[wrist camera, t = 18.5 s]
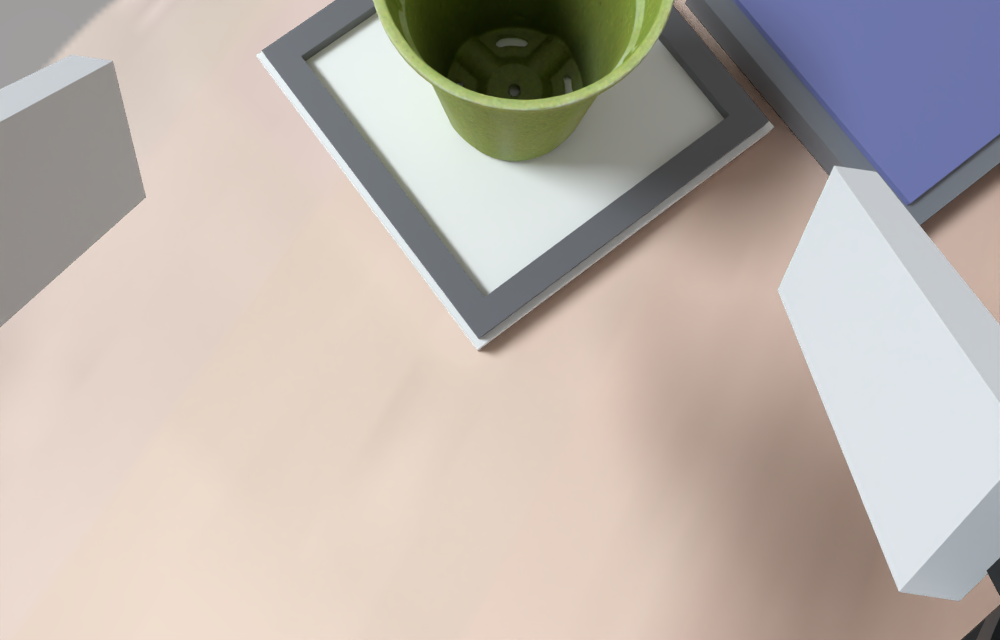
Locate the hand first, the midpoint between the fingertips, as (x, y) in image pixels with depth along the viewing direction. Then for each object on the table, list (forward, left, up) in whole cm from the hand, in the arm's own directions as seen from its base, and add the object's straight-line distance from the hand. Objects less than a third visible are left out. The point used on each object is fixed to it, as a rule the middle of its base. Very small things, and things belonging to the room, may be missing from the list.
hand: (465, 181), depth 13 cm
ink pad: (-23, +2, -16) cm, 28 cm away
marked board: (-7, -6, -16) cm, 19 cm away
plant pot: (-7, -6, -15) cm, 18 cm away
